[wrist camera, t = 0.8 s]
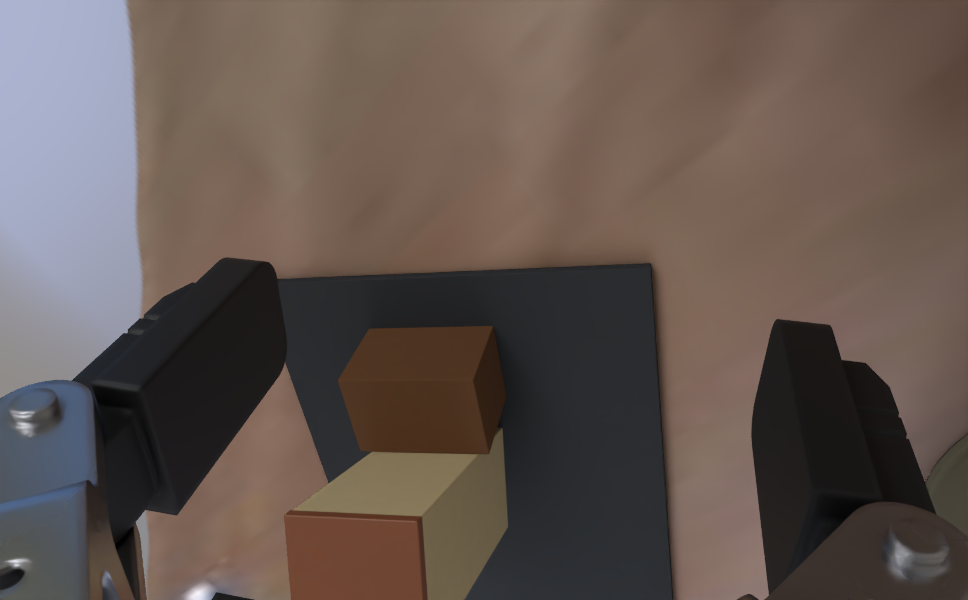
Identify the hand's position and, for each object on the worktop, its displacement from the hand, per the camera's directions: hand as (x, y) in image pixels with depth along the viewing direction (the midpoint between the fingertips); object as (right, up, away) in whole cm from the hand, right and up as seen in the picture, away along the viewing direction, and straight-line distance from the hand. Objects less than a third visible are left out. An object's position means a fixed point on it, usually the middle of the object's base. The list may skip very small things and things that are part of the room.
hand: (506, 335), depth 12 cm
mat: (0, -8, +27) cm, 28 cm away
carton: (-2, -6, +26) cm, 26 cm away
